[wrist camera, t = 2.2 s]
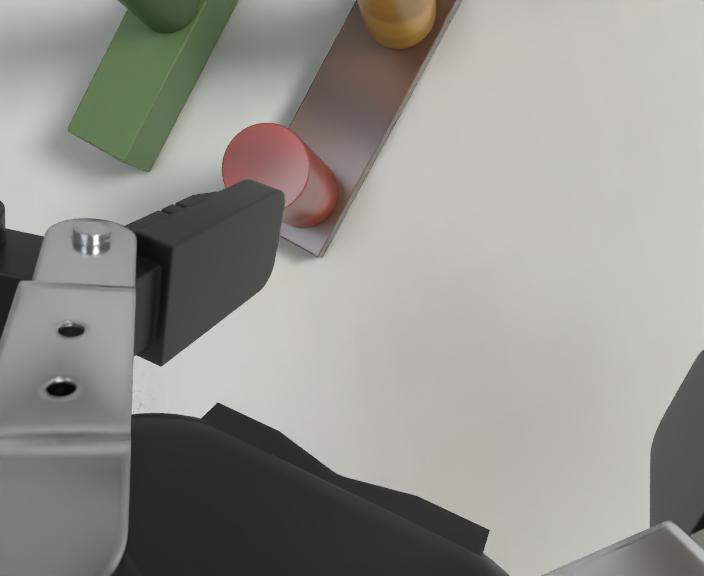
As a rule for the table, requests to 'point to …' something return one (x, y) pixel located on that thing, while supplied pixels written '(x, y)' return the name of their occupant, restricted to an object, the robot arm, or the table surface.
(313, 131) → the rod stand
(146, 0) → the green peg on base
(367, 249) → the table surface
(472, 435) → the table surface
